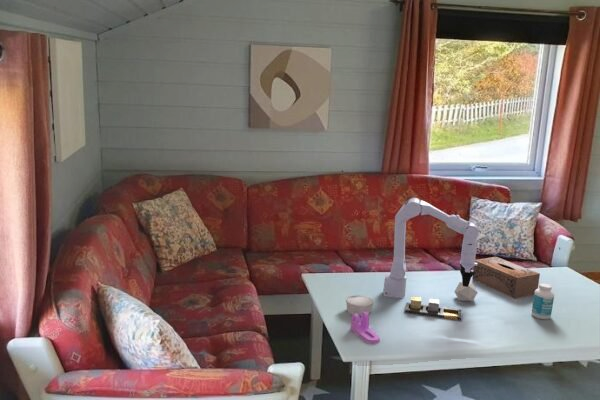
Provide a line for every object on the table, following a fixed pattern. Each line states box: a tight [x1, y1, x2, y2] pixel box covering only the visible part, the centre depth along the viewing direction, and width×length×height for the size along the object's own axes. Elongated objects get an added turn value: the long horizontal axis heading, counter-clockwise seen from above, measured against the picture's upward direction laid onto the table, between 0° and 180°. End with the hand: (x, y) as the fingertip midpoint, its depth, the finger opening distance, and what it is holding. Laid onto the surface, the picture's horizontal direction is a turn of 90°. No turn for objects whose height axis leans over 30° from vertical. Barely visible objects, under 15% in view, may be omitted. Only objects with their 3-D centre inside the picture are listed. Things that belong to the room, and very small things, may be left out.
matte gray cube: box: [428, 298, 440, 313], centre depth 223 cm, size 4×4×5 cm
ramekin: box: [345, 294, 374, 317], centre depth 222 cm, size 11×11×5 cm
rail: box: [404, 302, 462, 322], centre depth 223 cm, size 22×8×2 cm, turn 75°
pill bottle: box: [531, 282, 555, 320], centre depth 224 cm, size 8×7×14 cm
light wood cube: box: [410, 296, 423, 311], centre depth 224 cm, size 4×4×5 cm
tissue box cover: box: [471, 256, 541, 299], centre depth 257 cm, size 26×14×10 cm, turn 28°
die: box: [454, 281, 478, 302], centre depth 238 cm, size 8×9×10 cm
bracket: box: [350, 312, 381, 344], centre depth 202 cm, size 13×6×7 cm, turn 26°
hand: (465, 283), depth 231 cm, fingers open, 7 cm apart
